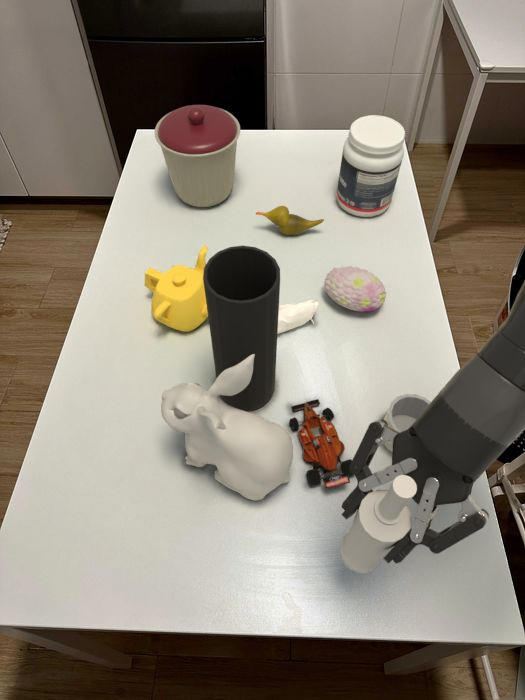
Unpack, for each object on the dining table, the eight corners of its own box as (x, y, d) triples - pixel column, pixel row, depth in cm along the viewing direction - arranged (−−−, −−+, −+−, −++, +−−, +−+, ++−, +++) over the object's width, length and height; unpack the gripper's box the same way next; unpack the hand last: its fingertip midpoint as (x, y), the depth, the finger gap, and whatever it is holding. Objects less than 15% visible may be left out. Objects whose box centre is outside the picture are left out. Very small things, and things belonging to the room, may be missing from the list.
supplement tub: (334, 182, 125) (344, 111, 109) (387, 184, 124) (405, 113, 109) (336, 219, 117) (347, 148, 102) (392, 221, 117) (412, 150, 102)
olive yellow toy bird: (256, 223, 117) (256, 200, 111) (322, 227, 116) (325, 204, 111) (254, 236, 114) (254, 213, 109) (322, 240, 114) (325, 217, 108)
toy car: (325, 398, 91) (328, 386, 88) (359, 486, 83) (363, 476, 79) (283, 408, 90) (284, 397, 87) (313, 498, 81) (315, 489, 78)
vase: (231, 355, 96) (221, 237, 72) (282, 371, 95) (290, 256, 70) (209, 401, 91) (190, 290, 66) (263, 419, 89) (264, 312, 64)
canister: (166, 170, 127) (151, 86, 109) (239, 166, 128) (236, 82, 110) (166, 221, 117) (149, 137, 99) (245, 215, 118) (242, 132, 100)
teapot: (226, 329, 100) (224, 296, 92) (158, 344, 98) (149, 312, 90) (210, 277, 107) (206, 243, 99) (146, 291, 105) (137, 257, 97)
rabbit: (191, 409, 90) (171, 324, 69) (301, 453, 86) (315, 375, 65) (159, 467, 84) (126, 392, 63) (275, 517, 80) (281, 454, 59)
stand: (438, 436, 87) (450, 418, 82) (407, 467, 84) (418, 450, 79) (400, 404, 91) (410, 385, 85) (369, 433, 88) (377, 414, 82)
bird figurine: (299, 309, 104) (256, 319, 100) (312, 290, 99) (267, 300, 94) (310, 329, 103) (267, 341, 98) (323, 311, 97) (279, 322, 93)
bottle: (333, 535, 66) (366, 463, 45) (372, 528, 66) (422, 452, 45) (345, 578, 63) (385, 522, 42) (385, 570, 63) (445, 510, 43)
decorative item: (325, 259, 104) (357, 250, 95) (364, 283, 109) (398, 277, 100) (311, 300, 102) (342, 294, 93) (352, 322, 107) (385, 319, 98)
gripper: (404, 365, 47) (301, 493, 53) (543, 479, 41) (411, 610, 47) (425, 364, 54) (331, 478, 59) (548, 462, 48) (431, 579, 53)
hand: (367, 536), depth 53 cm, fingers closed on bottle, 5 cm apart
